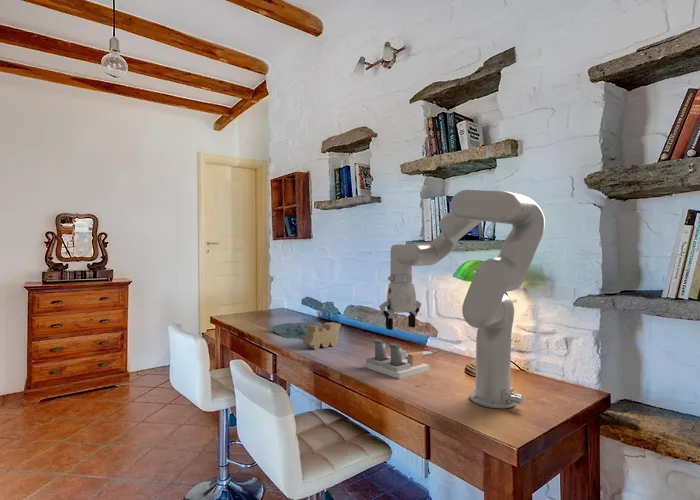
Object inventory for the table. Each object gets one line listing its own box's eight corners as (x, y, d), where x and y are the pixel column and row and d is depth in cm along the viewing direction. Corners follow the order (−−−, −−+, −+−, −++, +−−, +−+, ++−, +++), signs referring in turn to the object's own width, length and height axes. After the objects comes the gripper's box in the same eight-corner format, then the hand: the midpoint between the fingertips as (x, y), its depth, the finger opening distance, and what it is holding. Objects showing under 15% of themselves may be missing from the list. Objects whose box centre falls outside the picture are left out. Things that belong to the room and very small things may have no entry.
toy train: (302, 348, 174) (303, 325, 174) (333, 343, 185) (333, 321, 185) (310, 351, 170) (310, 327, 170) (341, 345, 181) (341, 323, 181)
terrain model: (268, 331, 209) (268, 322, 209) (313, 326, 226) (314, 317, 226) (292, 347, 189) (293, 337, 188) (340, 340, 206) (341, 330, 205)
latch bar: (422, 363, 145) (422, 352, 145) (412, 366, 142) (412, 355, 142) (417, 362, 147) (417, 351, 147) (407, 364, 144) (407, 353, 144)
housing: (429, 370, 145) (430, 342, 145) (399, 379, 134) (400, 349, 134) (395, 360, 157) (395, 334, 157) (365, 367, 147) (365, 340, 147)
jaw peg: (404, 368, 140) (404, 345, 140) (396, 370, 137) (396, 347, 137) (394, 364, 144) (394, 342, 144) (386, 367, 141) (386, 344, 141)
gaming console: (424, 346, 180) (441, 351, 172) (424, 348, 180) (441, 352, 172) (386, 353, 167) (403, 358, 159) (386, 354, 167) (403, 360, 159)
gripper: (386, 280, 133) (386, 332, 133) (427, 279, 141) (426, 327, 141) (374, 279, 139) (374, 328, 139) (413, 278, 148) (413, 324, 148)
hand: (400, 328), depth 140 cm, fingers open, 9 cm apart
